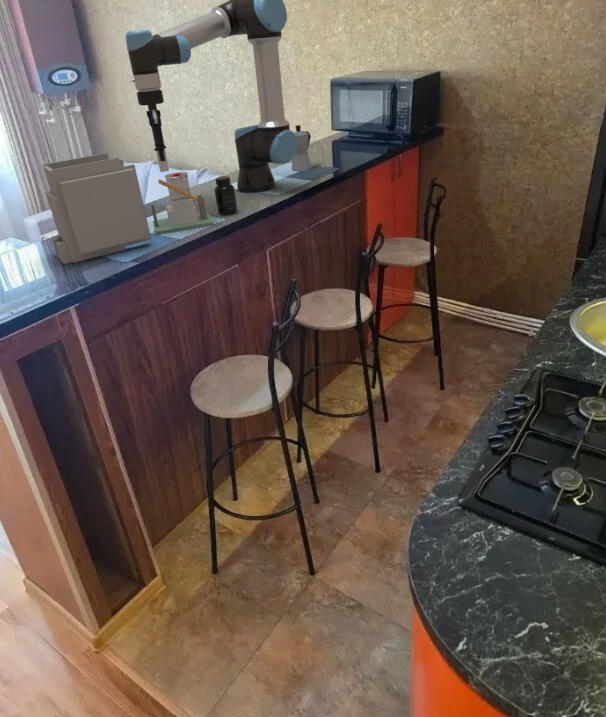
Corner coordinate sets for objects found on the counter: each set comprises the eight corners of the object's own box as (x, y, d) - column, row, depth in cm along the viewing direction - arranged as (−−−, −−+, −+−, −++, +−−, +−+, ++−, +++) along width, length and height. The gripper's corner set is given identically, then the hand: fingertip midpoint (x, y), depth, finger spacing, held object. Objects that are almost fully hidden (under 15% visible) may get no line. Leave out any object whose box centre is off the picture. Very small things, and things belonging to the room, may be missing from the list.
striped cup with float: (188, 211, 206) (181, 177, 200) (166, 212, 208) (159, 178, 202) (198, 203, 215) (192, 170, 209) (177, 204, 216) (170, 172, 210)
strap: (200, 201, 192) (202, 197, 192) (202, 204, 189) (204, 200, 189) (158, 181, 186) (159, 177, 185) (158, 183, 182) (160, 179, 182)
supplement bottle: (216, 212, 202) (210, 177, 196) (234, 208, 204) (229, 174, 198) (221, 216, 196) (215, 181, 190) (240, 213, 198) (235, 177, 192)
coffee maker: (302, 172, 245) (298, 128, 236) (285, 172, 250) (281, 128, 241) (320, 165, 256) (317, 121, 247) (303, 164, 260) (299, 122, 251)
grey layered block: (54, 252, 178) (26, 166, 165) (137, 232, 189) (117, 149, 176) (66, 267, 165) (37, 174, 152) (154, 244, 176) (134, 156, 163)
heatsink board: (207, 214, 200) (203, 190, 196) (214, 224, 188) (209, 199, 184) (153, 223, 196) (147, 199, 192) (155, 234, 184) (150, 208, 180)
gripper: (135, 90, 176) (151, 169, 188) (137, 92, 165) (154, 176, 177) (159, 87, 178) (174, 166, 189) (163, 89, 167) (178, 173, 178)
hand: (164, 171), depth 183 cm, fingers closed
